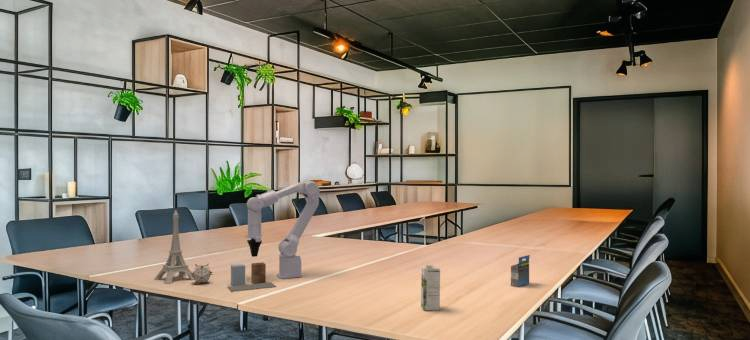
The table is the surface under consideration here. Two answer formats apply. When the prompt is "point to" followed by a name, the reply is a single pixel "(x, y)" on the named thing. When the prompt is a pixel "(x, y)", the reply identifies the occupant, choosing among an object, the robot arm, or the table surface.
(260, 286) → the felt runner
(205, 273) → the grey faceted ornament
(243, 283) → the slate block
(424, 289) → the syrup box
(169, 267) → the eiffel tower
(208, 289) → the table surface
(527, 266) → the label tape cartridge
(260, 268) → the walnut block
